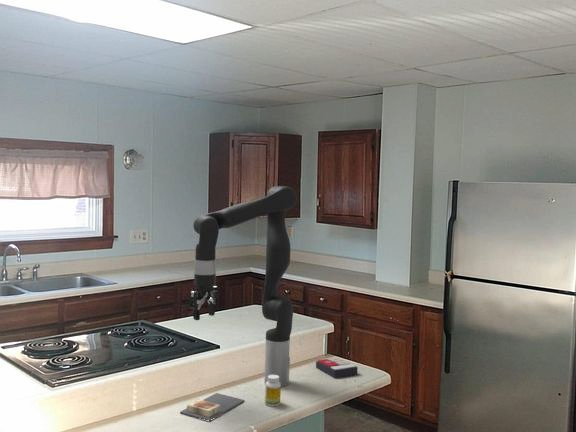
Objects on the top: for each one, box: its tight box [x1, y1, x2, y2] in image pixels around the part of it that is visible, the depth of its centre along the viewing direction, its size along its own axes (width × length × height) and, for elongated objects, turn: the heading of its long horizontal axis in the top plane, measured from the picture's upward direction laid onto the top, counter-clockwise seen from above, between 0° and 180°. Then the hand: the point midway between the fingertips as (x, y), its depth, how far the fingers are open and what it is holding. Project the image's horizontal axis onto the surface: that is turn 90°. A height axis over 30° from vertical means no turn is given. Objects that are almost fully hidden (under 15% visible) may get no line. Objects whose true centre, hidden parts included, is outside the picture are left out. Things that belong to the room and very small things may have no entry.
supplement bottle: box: [264, 375, 282, 407], centre depth 197 cm, size 5×5×10 cm
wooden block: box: [186, 399, 220, 417], centre depth 187 cm, size 9×2×6 cm
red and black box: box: [315, 357, 358, 380], centre depth 233 cm, size 11×4×15 cm
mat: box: [179, 392, 245, 422], centre depth 192 cm, size 20×12×1 cm, turn 151°
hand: (204, 317), depth 201 cm, fingers open, 8 cm apart
